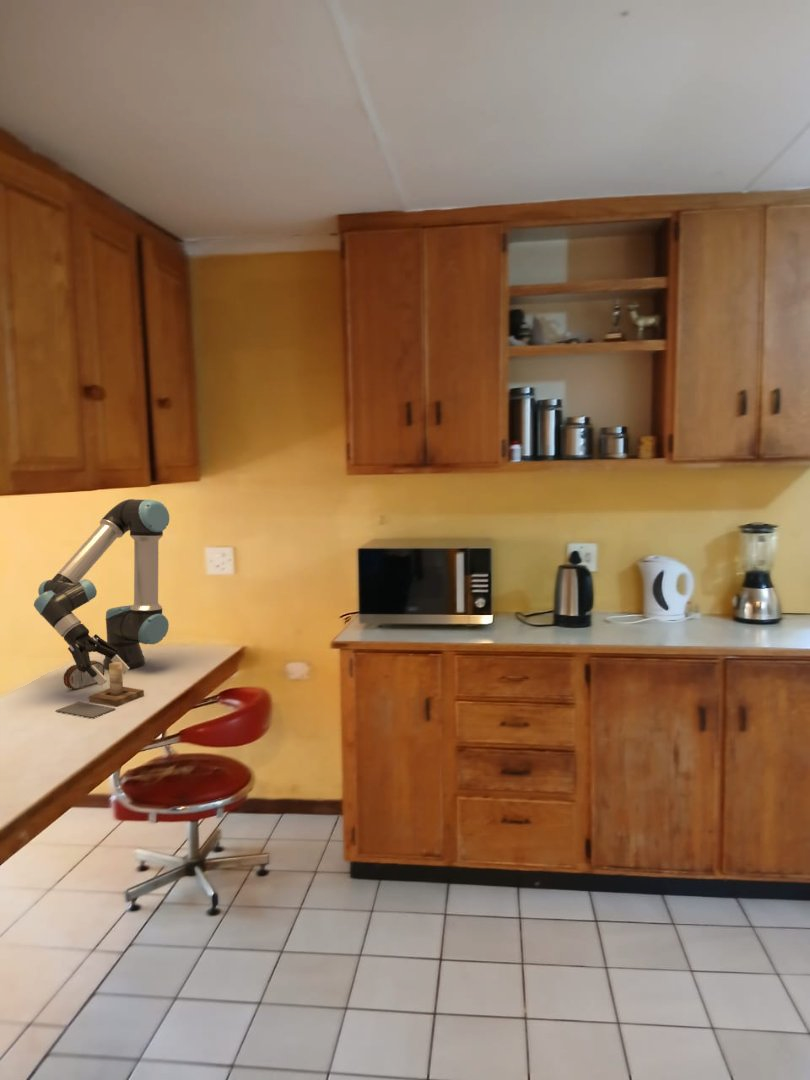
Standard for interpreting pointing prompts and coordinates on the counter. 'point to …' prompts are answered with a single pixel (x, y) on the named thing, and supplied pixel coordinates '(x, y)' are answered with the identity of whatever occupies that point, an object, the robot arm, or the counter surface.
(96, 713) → the mat
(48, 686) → the counter surface
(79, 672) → the tin
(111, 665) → the peg
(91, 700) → the slot block
